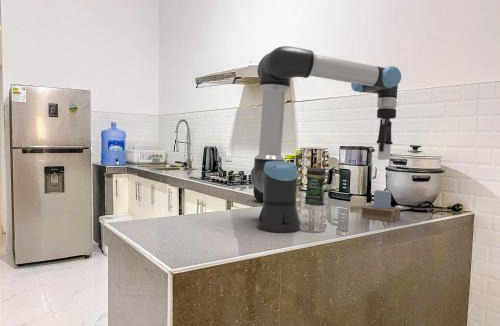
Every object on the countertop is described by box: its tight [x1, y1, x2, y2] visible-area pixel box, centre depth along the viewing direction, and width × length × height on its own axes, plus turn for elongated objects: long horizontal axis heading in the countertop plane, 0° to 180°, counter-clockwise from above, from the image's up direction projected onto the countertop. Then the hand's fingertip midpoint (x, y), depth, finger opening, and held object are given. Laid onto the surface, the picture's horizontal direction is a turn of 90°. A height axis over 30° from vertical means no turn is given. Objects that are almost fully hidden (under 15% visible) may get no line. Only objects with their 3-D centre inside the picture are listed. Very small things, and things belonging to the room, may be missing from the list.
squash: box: [253, 186, 263, 203], centre depth 200 cm, size 14×15×15 cm
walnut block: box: [361, 204, 401, 223], centre depth 164 cm, size 12×12×5 cm
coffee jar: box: [304, 167, 327, 206], centre depth 199 cm, size 10×8×19 cm
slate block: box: [373, 189, 392, 209], centre depth 164 cm, size 6×6×7 cm
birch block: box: [349, 195, 368, 214], centre depth 179 cm, size 6×6×7 cm
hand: (383, 159), depth 163 cm, fingers open, 13 cm apart
